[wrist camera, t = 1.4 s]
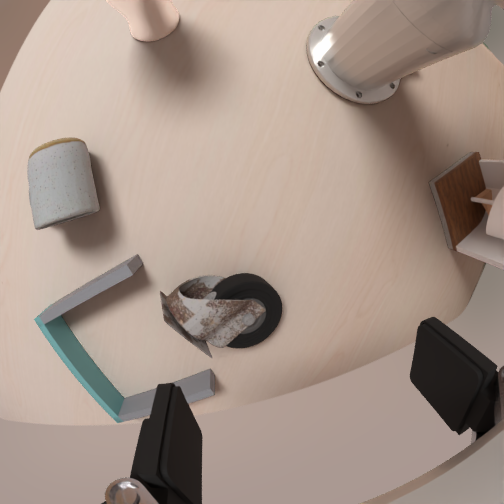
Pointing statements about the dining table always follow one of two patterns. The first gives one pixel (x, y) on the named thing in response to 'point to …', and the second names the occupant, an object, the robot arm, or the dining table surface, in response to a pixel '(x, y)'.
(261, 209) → the dining table surface
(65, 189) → the ceramic mug
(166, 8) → the beer glass
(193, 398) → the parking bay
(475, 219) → the white shelf stand
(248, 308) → the caster wheel
